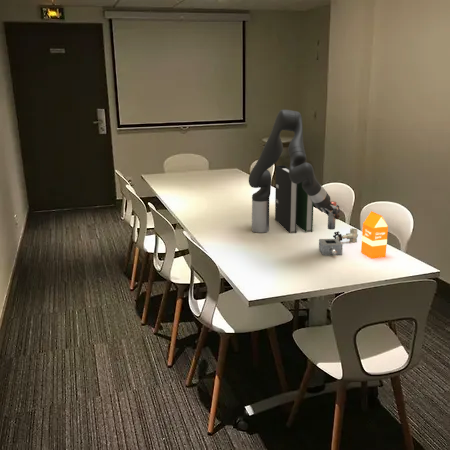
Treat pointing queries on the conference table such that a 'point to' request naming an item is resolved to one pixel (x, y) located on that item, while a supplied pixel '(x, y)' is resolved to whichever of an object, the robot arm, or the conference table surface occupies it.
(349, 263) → the conference table surface
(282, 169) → the binder
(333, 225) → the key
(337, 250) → the grey box
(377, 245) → the orange juice
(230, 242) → the conference table surface
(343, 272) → the conference table surface
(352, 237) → the valve
